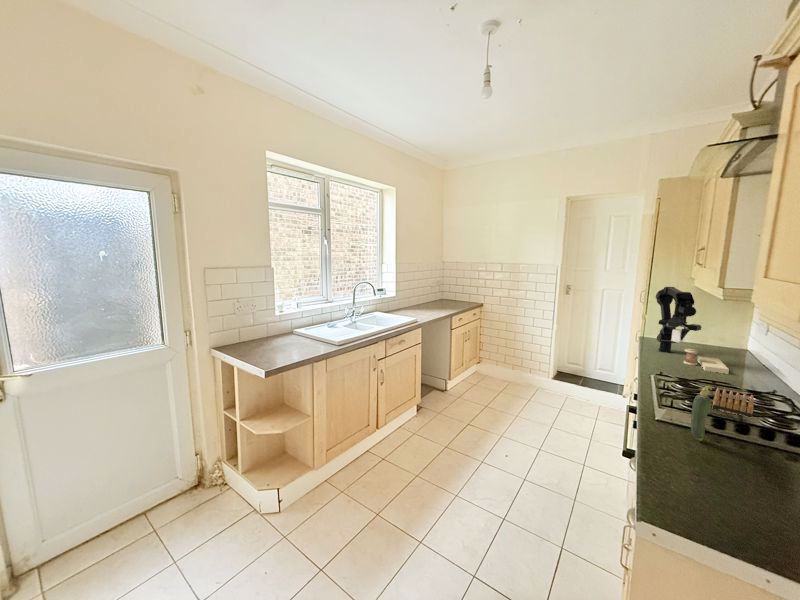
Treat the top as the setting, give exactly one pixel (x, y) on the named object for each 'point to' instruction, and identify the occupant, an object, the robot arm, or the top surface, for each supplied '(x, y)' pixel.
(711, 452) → the top surface
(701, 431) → the vegetable
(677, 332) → the block
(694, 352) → the bobbin
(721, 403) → the ammunition clip
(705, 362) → the notched board
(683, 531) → the top surface
